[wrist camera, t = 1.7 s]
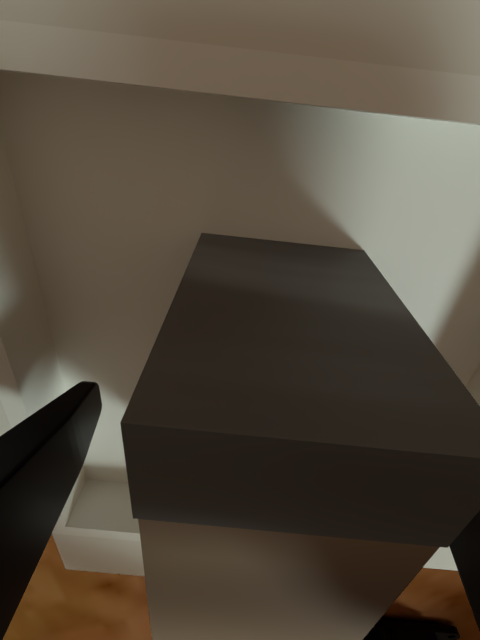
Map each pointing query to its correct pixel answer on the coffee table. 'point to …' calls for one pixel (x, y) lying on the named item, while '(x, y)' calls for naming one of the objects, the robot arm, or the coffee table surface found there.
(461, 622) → the coffee table surface
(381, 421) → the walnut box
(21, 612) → the coffee table surface
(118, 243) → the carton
